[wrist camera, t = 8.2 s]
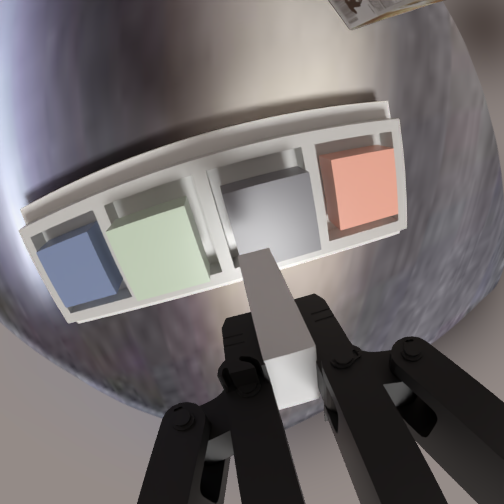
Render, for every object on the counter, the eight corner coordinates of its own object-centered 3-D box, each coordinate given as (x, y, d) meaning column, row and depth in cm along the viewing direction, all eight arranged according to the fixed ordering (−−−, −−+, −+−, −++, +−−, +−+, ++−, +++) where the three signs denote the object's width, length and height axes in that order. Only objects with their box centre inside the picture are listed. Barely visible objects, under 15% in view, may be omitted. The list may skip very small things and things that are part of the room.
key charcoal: (220, 185, 20) (222, 194, 17) (297, 165, 20) (309, 172, 18) (240, 255, 22) (244, 271, 20) (310, 236, 22) (321, 249, 20)
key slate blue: (48, 240, 21) (36, 252, 19) (97, 220, 21) (86, 231, 19) (75, 292, 24) (65, 308, 21) (123, 278, 24) (116, 293, 21)
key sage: (115, 219, 19) (105, 232, 17) (186, 195, 20) (184, 205, 17) (143, 283, 22) (137, 301, 20) (209, 264, 22) (210, 281, 20)
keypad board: (30, 203, 22) (8, 216, 18) (376, 101, 23) (400, 100, 19) (83, 312, 27) (72, 335, 24) (389, 226, 28) (410, 241, 25)
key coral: (318, 155, 22) (330, 160, 20) (377, 144, 22) (393, 148, 20) (328, 219, 24) (340, 230, 22) (383, 205, 24) (398, 213, 22)
